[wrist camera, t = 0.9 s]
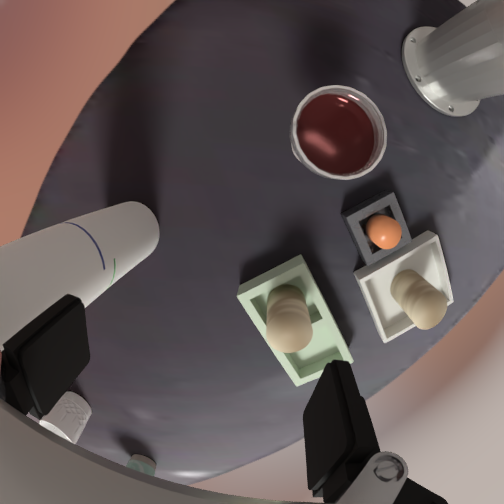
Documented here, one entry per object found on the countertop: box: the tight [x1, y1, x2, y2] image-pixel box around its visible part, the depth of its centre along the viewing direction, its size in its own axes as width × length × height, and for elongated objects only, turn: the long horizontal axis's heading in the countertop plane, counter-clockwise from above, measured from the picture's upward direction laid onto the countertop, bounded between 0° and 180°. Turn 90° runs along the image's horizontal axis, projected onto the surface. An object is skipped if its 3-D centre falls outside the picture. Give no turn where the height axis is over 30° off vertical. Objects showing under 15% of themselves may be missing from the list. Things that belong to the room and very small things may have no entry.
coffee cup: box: [126, 454, 156, 476], centre depth 42 cm, size 8×8×12 cm
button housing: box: [341, 190, 412, 266], centre depth 30 cm, size 6×6×2 cm
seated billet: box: [266, 284, 313, 353], centre depth 30 cm, size 4×4×7 cm
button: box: [366, 214, 402, 249], centre depth 28 cm, size 3×3×3 cm
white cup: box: [39, 391, 92, 444], centre depth 39 cm, size 8×8×10 cm
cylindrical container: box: [0, 201, 159, 352], centre depth 21 cm, size 7×7×25 cm
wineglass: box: [290, 85, 387, 180], centre depth 23 cm, size 7×7×12 cm
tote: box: [353, 230, 454, 343], centre depth 31 cm, size 11×10×2 cm
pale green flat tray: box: [237, 254, 354, 386], centre depth 33 cm, size 8×15×3 cm, turn 30°
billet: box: [390, 269, 447, 329], centre depth 29 cm, size 4×4×7 cm
